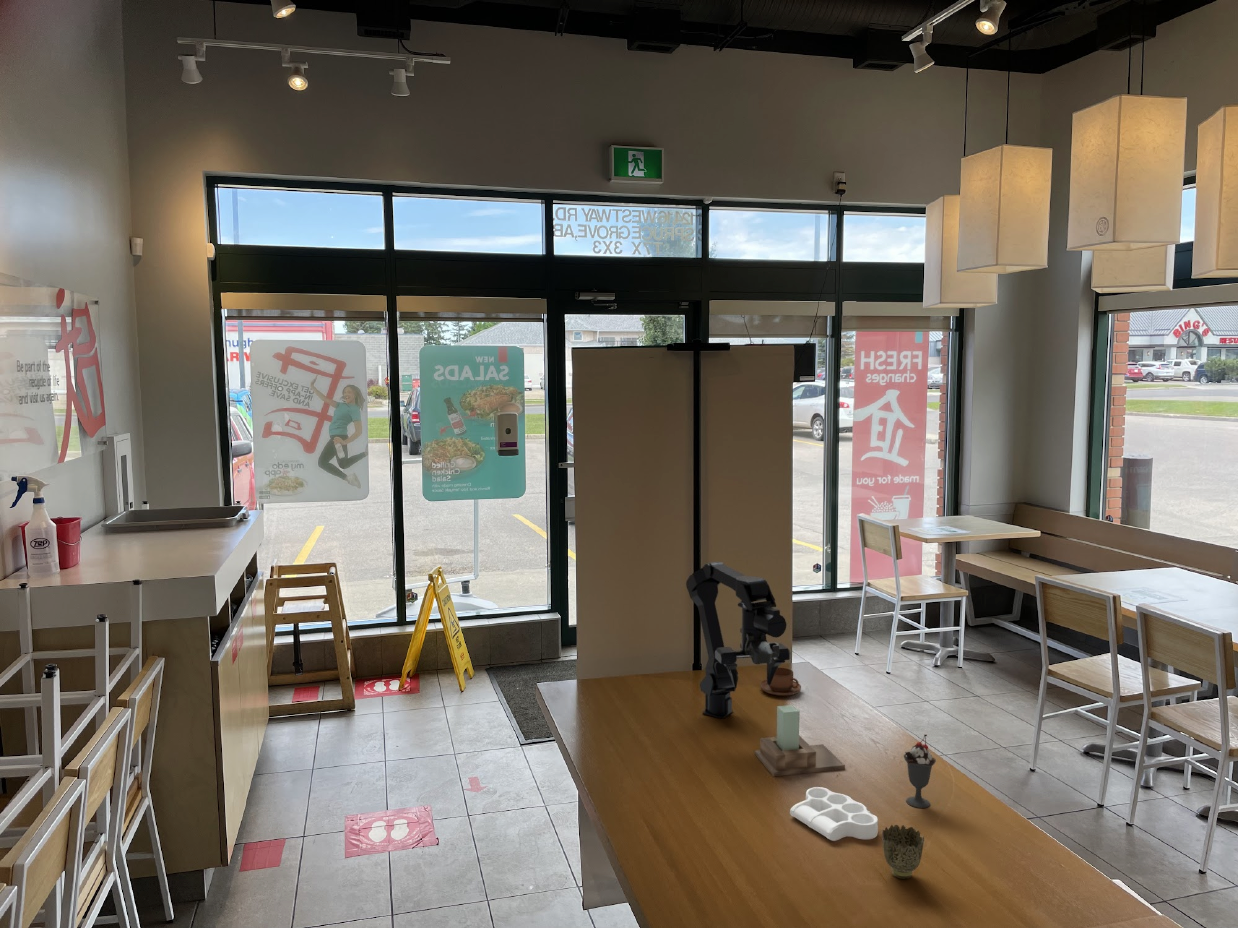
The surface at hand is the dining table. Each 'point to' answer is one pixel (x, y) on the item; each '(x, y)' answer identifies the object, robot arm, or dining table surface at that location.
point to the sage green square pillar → (787, 727)
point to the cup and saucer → (782, 683)
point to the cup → (902, 850)
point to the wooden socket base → (796, 758)
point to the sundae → (919, 772)
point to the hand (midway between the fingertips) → (752, 685)
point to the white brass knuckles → (835, 815)
